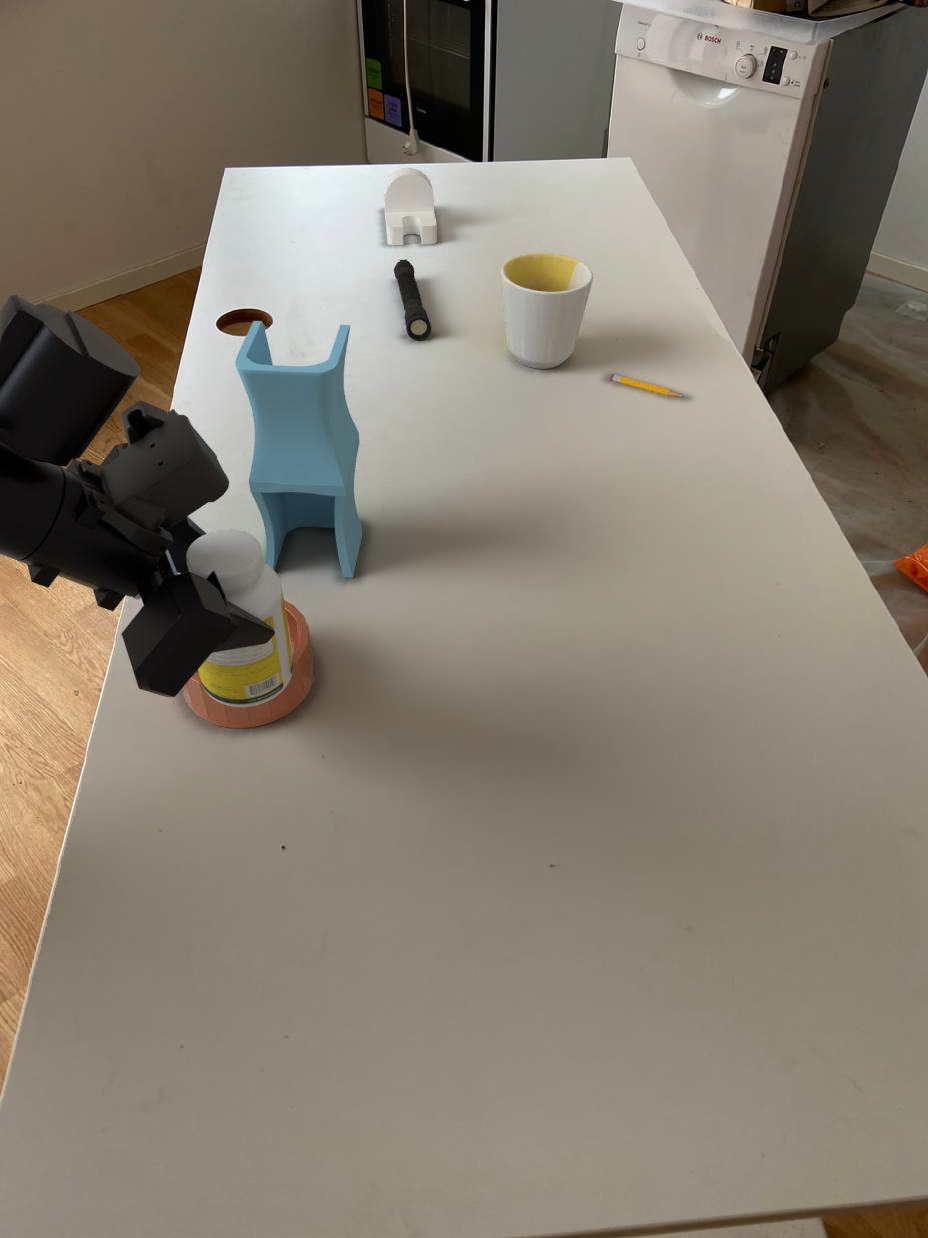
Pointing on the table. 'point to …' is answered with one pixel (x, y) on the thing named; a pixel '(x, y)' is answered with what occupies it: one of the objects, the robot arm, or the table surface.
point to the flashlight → (412, 302)
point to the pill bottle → (258, 592)
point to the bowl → (272, 708)
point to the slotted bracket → (409, 207)
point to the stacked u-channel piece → (302, 446)
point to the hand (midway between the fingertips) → (255, 604)
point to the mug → (544, 306)
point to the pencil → (644, 385)
